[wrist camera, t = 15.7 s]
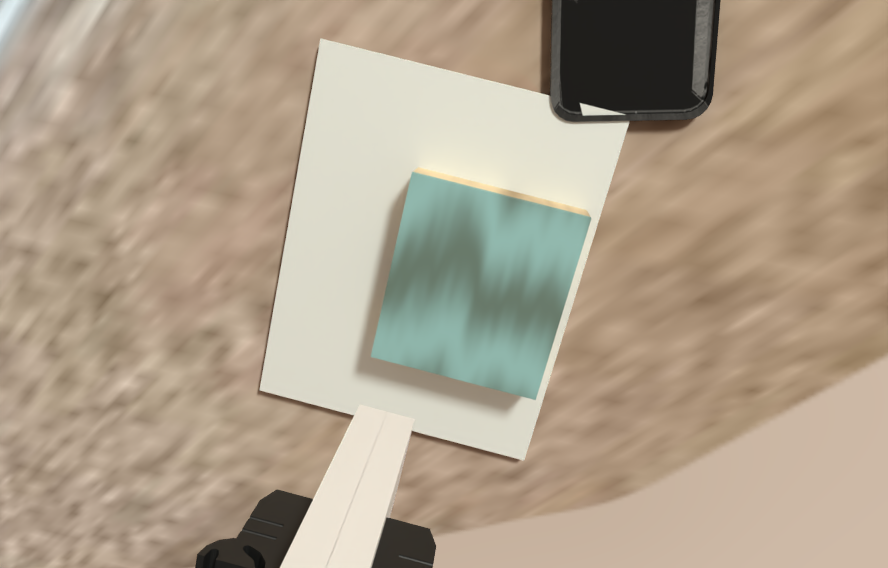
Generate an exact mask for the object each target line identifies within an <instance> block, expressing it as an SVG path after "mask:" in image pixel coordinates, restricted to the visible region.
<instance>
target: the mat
mask: <svg viewBox="0 0 888 568" xmlns="http://www.w3.org/2000/svg"><path fill="white" fill-rule="evenodd" d="M580 106H581V110H582V114H583V116H585V115H626V114H622V113H618V112H614V111H610V110H606V109H602V108H598V107H594V106H590V105H586V104H582V103H580ZM629 122H630V121H592V122H572V121H566V120H564V119H562V118H560V117H559V116H558V115H557V114H556V113H555V111H554V109H553V107H552V103H551V96H549V95H545V94H541V93H537V92H533V91H529V90H525V89H521V88H517V87H513V86H509V85H505V84H501V83H497V82H493V81H489V80H485V79H481V78H477V77H473V76H469V75H465V74H461V73H457V72H453V71H449V70H445V69H441V68H437V67H433V66H429V65H425V64H421V63H417V62H413V61H409V60H405V59H401V58H397V57H393V56H389V55H385V54H381V53H377V52H373V51H369V50H365V49H361V48H357V47H353V46H349V45H345V44H341V43H337V42H333V41H329V40H325V39H320V45H319V50H318V56H317V62H316V68H315V73H314V79H313V85H312V91H311V96H310V102H309V108H308V114H307V119H306V125H305V131H304V137H303V142H302V148H301V154H300V160H299V165H298V171H297V177H296V183H295V188H294V194H293V200H292V206H291V212H290V217H289V223H288V229H287V235H286V240H285V246H284V252H283V258H282V263H281V269H280V275H279V281H278V286H277V292H276V298H275V304H274V309H273V315H272V321H271V327H270V332H269V338H268V344H267V350H266V355H265V361H264V367H263V373H262V379H261V384H260V391H264V392H268V393H272V394H275V395H279V396H283V397H287V398H290V399H294V400H298V401H302V402H305V403H309V404H313V405H317V406H320V407H324V408H328V409H332V410H336V411H339V412H343V413H347V414H351V415H355V413H356V411H357V409H358V407H359V405H364V406H368V407H372V408H375V409H379V410H383V411H387V412H391V413H394V414H398V415H402V416H406V417H409V418H413V419H415V420H414V424H413V428H412V431H415V432H418V433H422V434H426V435H430V436H433V437H437V438H441V439H445V440H448V441H452V442H456V443H460V444H463V445H467V446H471V447H475V448H479V449H482V450H486V451H490V452H494V453H497V454H501V455H505V456H509V457H512V458H516V459H520V460H524V459H525V456H526V453H527V450H528V447H529V443H530V440H531V437H532V434H533V430H534V427H535V424H536V421H537V418H538V414H539V411H540V408H541V405H542V401H543V398H544V395H545V392H546V389H547V385H548V382H549V379H550V376H551V373H552V369H553V366H554V363H555V360H556V356H557V353H558V350H559V347H560V344H561V340H562V337H563V334H564V331H565V328H566V324H567V321H568V318H569V315H570V311H571V308H572V305H573V302H574V299H575V295H576V292H577V289H578V286H579V283H580V279H581V276H582V273H583V270H584V266H585V263H586V260H587V257H588V254H589V250H590V247H591V244H592V241H593V237H594V234H595V231H596V228H597V225H598V221H599V218H600V215H601V212H602V209H603V205H604V202H605V199H606V196H607V192H608V189H609V186H610V183H611V180H612V176H613V173H614V170H615V167H616V164H617V160H618V157H619V154H620V151H621V147H622V144H623V141H624V138H625V135H626V131H627V128H628V125H629ZM418 167H419V168H423V169H427V170H431V171H435V172H439V173H443V174H447V175H451V176H455V177H459V178H463V179H467V180H471V181H475V182H479V183H483V184H486V185H490V186H494V187H498V188H502V189H506V190H510V191H514V192H518V193H522V194H526V195H530V196H534V197H538V198H542V199H546V200H549V201H553V202H557V203H561V204H565V205H569V206H573V207H577V208H581V209H585V210H587V211H588V213H589V215H590V217H591V218H592V219H591V222H590V225H589V228H588V232H587V235H586V238H585V241H584V245H583V248H582V251H581V254H580V258H579V261H578V264H577V267H576V271H575V274H574V277H573V280H572V284H571V287H570V290H569V293H568V297H567V300H566V303H565V306H564V310H563V313H562V316H561V319H560V323H559V326H558V329H557V332H556V336H555V339H554V342H553V345H552V349H551V352H550V355H549V358H548V362H547V365H546V368H545V371H544V375H543V378H542V381H541V384H540V388H539V391H538V394H537V397H536V400H533V399H529V398H525V397H521V396H518V395H514V394H510V393H506V392H502V391H499V390H495V389H491V388H487V387H483V386H480V385H476V384H472V383H468V382H464V381H461V380H457V379H453V378H449V377H445V376H442V375H438V374H434V373H430V372H426V371H423V370H419V369H415V368H411V367H407V366H404V365H400V364H396V363H392V362H388V361H385V360H381V359H377V358H373V357H371V353H372V348H373V344H374V339H375V335H376V330H377V326H378V322H379V317H380V313H381V308H382V304H383V299H384V295H385V290H386V286H387V281H388V277H389V272H390V268H391V263H392V259H393V254H394V250H395V245H396V241H397V236H398V232H399V227H400V223H401V219H402V214H403V210H404V205H405V201H406V196H407V192H408V187H409V183H410V178H411V174H412V172H413V171H414V170H416V169H417V168H418Z"/></svg>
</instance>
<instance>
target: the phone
mask: <svg viewBox="0 0 888 568" xmlns="http://www.w3.org/2000/svg"><path fill="white" fill-rule="evenodd" d="M719 11H720V0H552V21H551V78H550V96H551V103H552V107H553V109H554V111H555V113H556V114H557V115H558V116H559V117H560V118H562V119H564V120H566V121H572V122H592V121H642V120H687V119H693V118H696V117H698V116H699V115H701V114H702V113H703V112H704V111H706V110H707V108H708V107H709V105H710V103H711V100H712V96H713V87H714V74H715V61H716V49H717V36H718V24H719ZM580 103H582V104H586V105H590V106H594V107H598V108H602V109H606V110H610V111H614V112H618V113H622V114H626V115H585V116H583V114H582V110H581V106H580Z"/></svg>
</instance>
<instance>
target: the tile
mask: <svg viewBox="0 0 888 568" xmlns="http://www.w3.org/2000/svg"><path fill="white" fill-rule="evenodd" d="M591 219H592V218H591V217H590V215H589V213H588V211H587V210H585V209H581V208H577V207H573V206H569V205H565V204H561V203H557V202H553V201H549V200H546V199H542V198H538V197H534V196H530V195H526V194H522V193H518V192H514V191H510V190H506V189H502V188H498V187H494V186H490V185H486V184H483V183H479V182H475V181H471V180H467V179H463V178H459V177H455V176H451V175H447V174H443V173H439V172H435V171H431V170H427V169H423V168H419V167H418V168H417V169H416V170H414V171H413V172H412V174H411V178H410V183H409V187H408V192H407V196H406V201H405V205H404V210H403V214H402V219H401V223H400V227H399V232H398V236H397V241H396V245H395V250H394V254H393V259H392V263H391V268H390V272H389V277H388V281H387V286H386V290H385V295H384V299H383V304H382V308H381V313H380V317H379V322H378V326H377V330H376V335H375V339H374V344H373V348H372V353H371V357H373V358H377V359H381V360H385V361H388V362H392V363H396V364H400V365H404V366H407V367H411V368H415V369H419V370H423V371H426V372H430V373H434V374H438V375H442V376H445V377H449V378H453V379H457V380H461V381H464V382H468V383H472V384H476V385H480V386H483V387H487V388H491V389H495V390H499V391H502V392H506V393H510V394H514V395H518V396H521V397H525V398H529V399H533V400H536V397H537V394H538V391H539V388H540V384H541V381H542V378H543V375H544V371H545V368H546V365H547V362H548V358H549V355H550V352H551V349H552V345H553V342H554V339H555V336H556V332H557V329H558V326H559V323H560V319H561V316H562V313H563V310H564V306H565V303H566V300H567V297H568V293H569V290H570V287H571V284H572V280H573V277H574V274H575V271H576V267H577V264H578V261H579V258H580V254H581V251H582V248H583V245H584V241H585V238H586V235H587V232H588V228H589V225H590V222H591Z"/></svg>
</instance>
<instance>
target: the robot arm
mask: <svg viewBox="0 0 888 568" xmlns="http://www.w3.org/2000/svg"><path fill="white" fill-rule="evenodd" d="M414 420H415V419H413V418H409V417H406V416H402V415H398V414H394V413H391V412H387V411H383V410H379V409H375V408H372V407H368V406H364V405H359V407H358V409H357V411H356V413H355V415H354V417H353V419H352V421H351V423H350V425H349V427H348V429H347V431H346V433H345V435H344V437H343V440H342V442H341V444H340V446H339V448H338V450H337V452H336V454H335V456H334V458H333V460H332V462H331V464H330V466H329V468H328V470H327V472H326V474H325V476H324V478H323V480H322V482H321V485H320V487H319V489H318V491H317V493H316V495H315V497H314V499H311V498H307V497H303V496H299V495H296V494H292V493H288V492H285V491H281V490H275V491H274V492H272V493H271V494H269V495H268V496H266V497H264V498H263V499H261V500H260V501H259V503H258V504H257V506H256V508H255V509H254V511H253V512H252V514H251V516H250V519H248V521H247V522H246V524H245V525H244V527H243V529H242V531H241V532H240V533H239V535H238V537H237V538H231V539H224V540H218V541H216V542H214V543H211V544H209V545H207V546H206V547H205V548H204V549H202V550H201V551H200V552H199V553H198V554H197V560H196V567H195V568H432V567H433V562H434V556H435V550H436V545H435V542H434V539H433V536H432V534H431V531H430V529H428V528H425V527H421V526H417V525H413V524H410V523H406V522H402V521H399V520H395V519H391V518H390V514H391V511H392V508H393V504H394V500H395V496H396V492H397V488H398V484H399V480H400V476H401V472H402V468H403V464H404V460H405V456H406V452H407V448H408V444H409V440H410V436H411V432H412V428H413V424H414Z"/></svg>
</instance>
